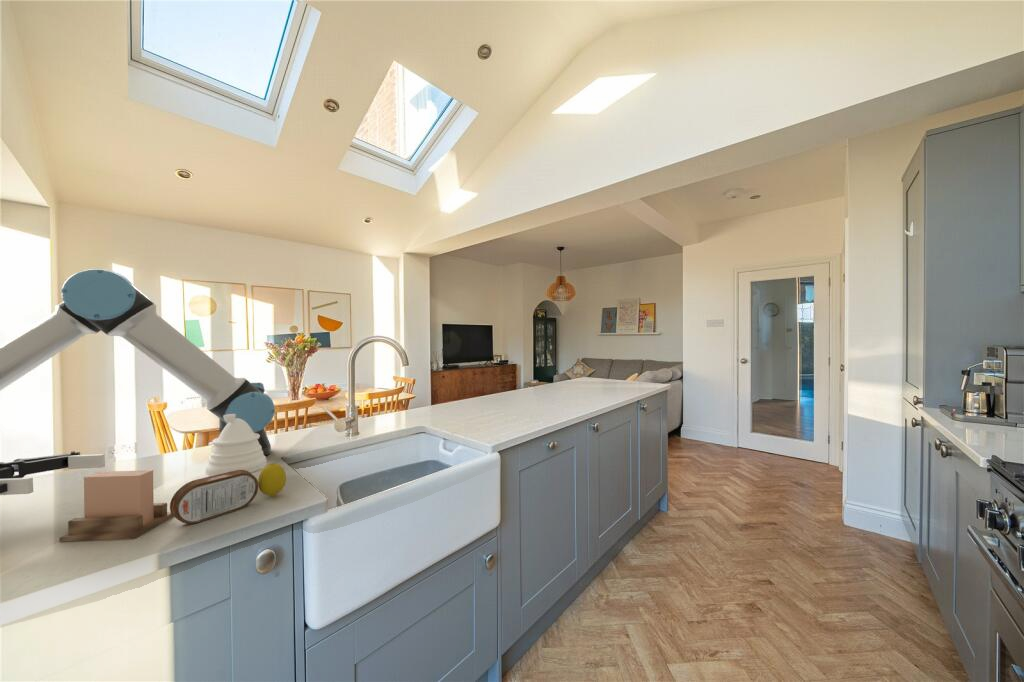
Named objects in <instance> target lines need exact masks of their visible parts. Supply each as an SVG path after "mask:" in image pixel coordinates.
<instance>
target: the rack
mask: <svg viewBox="0 0 1024 682" xmlns="http://www.w3.org/2000/svg"><path fill="white" fill-rule="evenodd" d="M173 517H174V516H173V515H172V514H171V511H169V512H168V502H154V519H153V520H152V521H150V522H148V523H146V524H145V525H143V515H142V516H117V517H92V518H84V517H75V518H72V519H69V520H68V522H67V527H68V528H67V529H68V531H67V533H65V534H64V535H61V536H59V537H58V538H59V539H58V542H60V543H63V542H84V541H85V542H86V541H87V540H90V541H105V540H107V541H109V540H129V539H131V540H133V539H137V538H139V537H141V536H143V535H144V534H146V533H147V532H149V531H151V530H152V529H154V528H156V527H157V526H159V525H161V524H163V523H165V522H166V521H168V520H170V519H171V518H173ZM87 542H88V541H87Z"/></svg>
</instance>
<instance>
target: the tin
mask: <svg viewBox="0 0 1024 682" xmlns="http://www.w3.org/2000/svg"><path fill="white" fill-rule="evenodd" d="M258 491H259V486H258V480H257V479H256V477H255V476H254V475H252V474H251V473H250V472H248V471H246V470H235V471H231V472H227V473H222V474H218V475H214V476H210V477H202V478H197V479H194V480H191V481H189V482H187V483H185V484H183V485H182V486H181V487H179V489H178V490H176V491H175V493H174V494H173V496H172V498H171V500H170V504H169V512H171V514H172V515H173V517H174V518H175V519H176V520H178V521H179V522H181V523H184V524H198V523H201V521H202V522H204V521H207V520H210V519H214V518H217V517H220V516H223V515H227V514H229V513H233V512H236V511H239V510H242V509H244V508H245V507H247V506H248V505H249V504H251V502H252V501H253V500H254V499H255V497H256V496H257V494H258Z"/></svg>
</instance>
